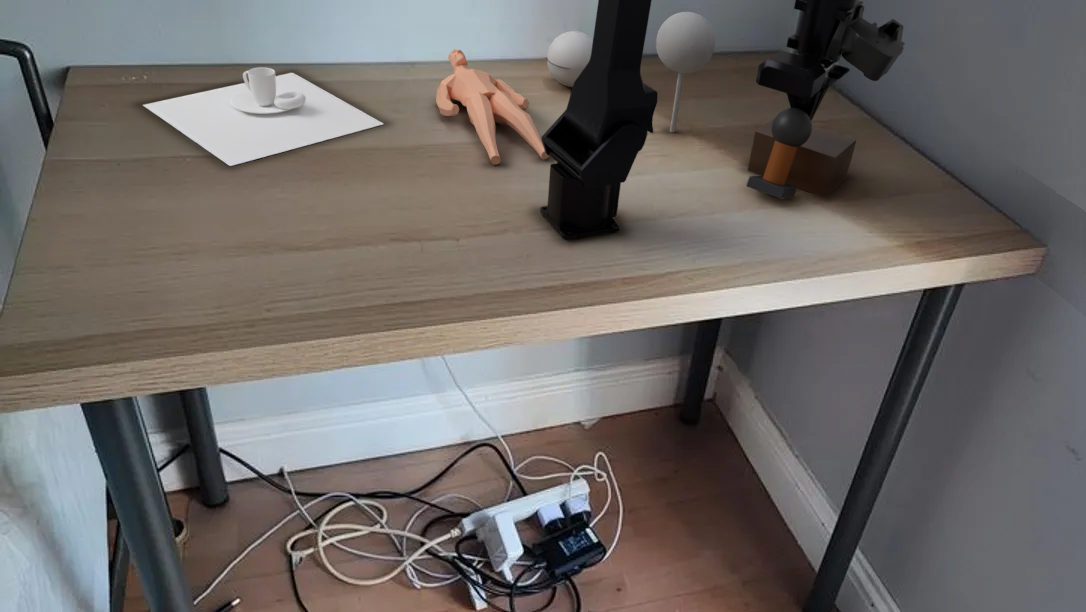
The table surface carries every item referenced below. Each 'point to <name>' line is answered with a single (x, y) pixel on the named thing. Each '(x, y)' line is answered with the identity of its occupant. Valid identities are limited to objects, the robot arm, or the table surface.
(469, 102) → the male figurine
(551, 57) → the white oval body
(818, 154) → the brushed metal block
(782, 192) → the ball-topped stamp
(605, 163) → the robot arm
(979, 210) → the table surface
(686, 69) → the lollipop
